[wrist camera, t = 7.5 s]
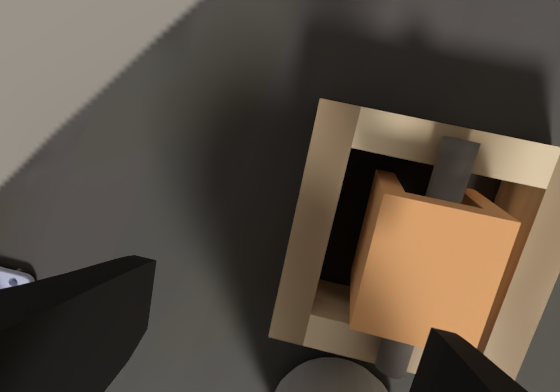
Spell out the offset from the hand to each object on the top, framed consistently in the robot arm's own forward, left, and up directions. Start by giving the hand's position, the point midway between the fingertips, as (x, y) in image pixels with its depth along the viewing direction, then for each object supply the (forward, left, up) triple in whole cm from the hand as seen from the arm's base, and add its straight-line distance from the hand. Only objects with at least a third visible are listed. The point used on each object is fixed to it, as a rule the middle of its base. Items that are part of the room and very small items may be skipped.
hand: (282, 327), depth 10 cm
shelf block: (+5, +1, -9) cm, 10 cm away
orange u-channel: (+5, +1, -9) cm, 10 cm away
